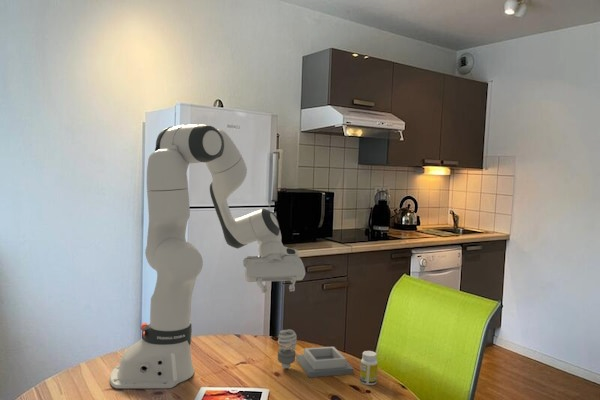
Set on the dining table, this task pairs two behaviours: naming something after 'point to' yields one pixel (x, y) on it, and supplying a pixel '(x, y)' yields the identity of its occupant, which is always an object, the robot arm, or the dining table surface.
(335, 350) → the bulb socket
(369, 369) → the supplement bottle
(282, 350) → the light bulb
